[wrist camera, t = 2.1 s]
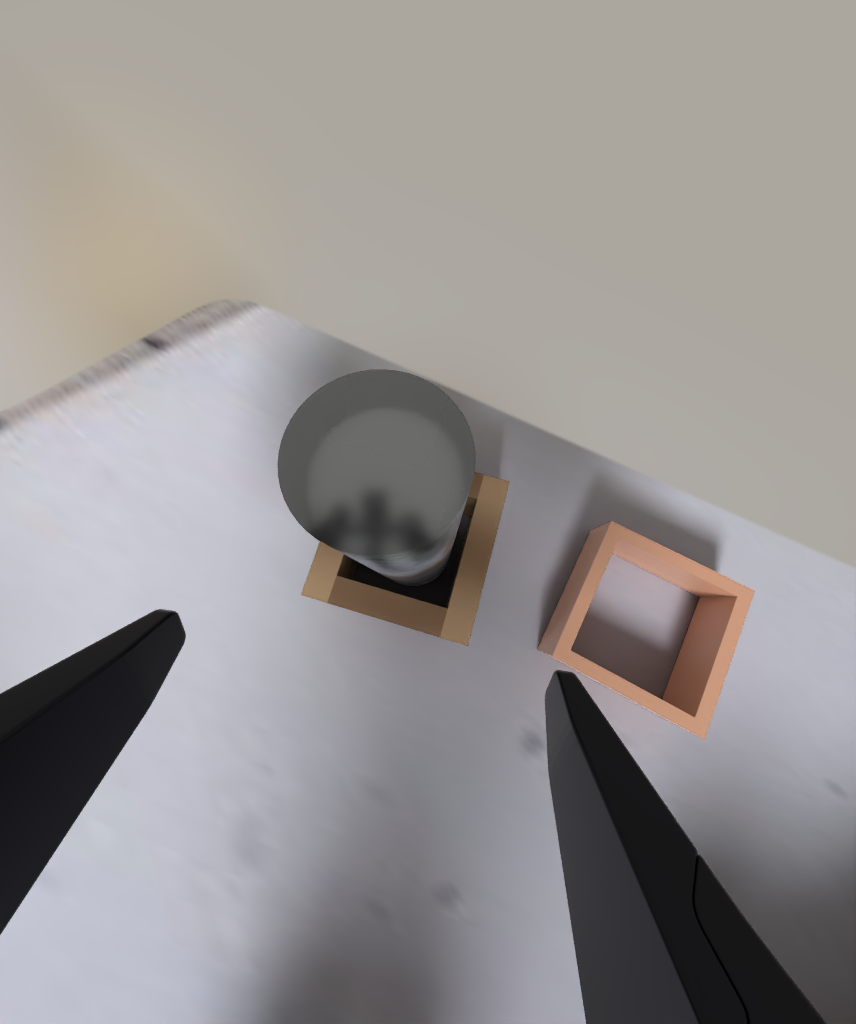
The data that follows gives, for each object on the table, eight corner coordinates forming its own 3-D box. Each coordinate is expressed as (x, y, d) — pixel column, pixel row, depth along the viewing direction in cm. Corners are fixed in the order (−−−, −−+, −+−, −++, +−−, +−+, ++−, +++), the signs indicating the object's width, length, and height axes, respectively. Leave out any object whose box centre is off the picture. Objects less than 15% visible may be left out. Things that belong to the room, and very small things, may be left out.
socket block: (668, 721, 18) (704, 739, 16) (537, 649, 19) (552, 656, 17) (715, 592, 20) (754, 590, 17) (590, 530, 20) (611, 520, 18)
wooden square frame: (462, 638, 19) (467, 645, 16) (324, 596, 20) (300, 594, 16) (497, 501, 21) (509, 481, 18) (368, 466, 22) (356, 440, 18)
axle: (464, 564, 20) (511, 498, 8) (395, 599, 20) (324, 592, 7) (429, 498, 21) (420, 340, 8) (363, 531, 21) (249, 418, 8)
